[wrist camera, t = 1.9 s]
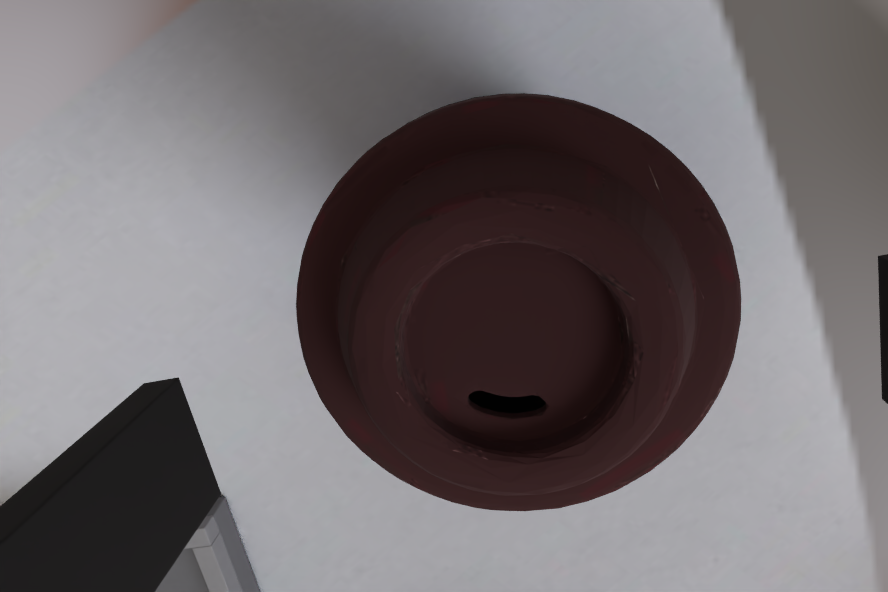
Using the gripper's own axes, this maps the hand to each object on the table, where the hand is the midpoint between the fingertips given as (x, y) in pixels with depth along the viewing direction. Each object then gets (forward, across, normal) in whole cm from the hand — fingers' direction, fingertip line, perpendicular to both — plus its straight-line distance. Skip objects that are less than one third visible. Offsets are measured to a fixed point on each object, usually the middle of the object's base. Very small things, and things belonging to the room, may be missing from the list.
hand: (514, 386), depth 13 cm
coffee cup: (+16, 0, 0) cm, 16 cm away
